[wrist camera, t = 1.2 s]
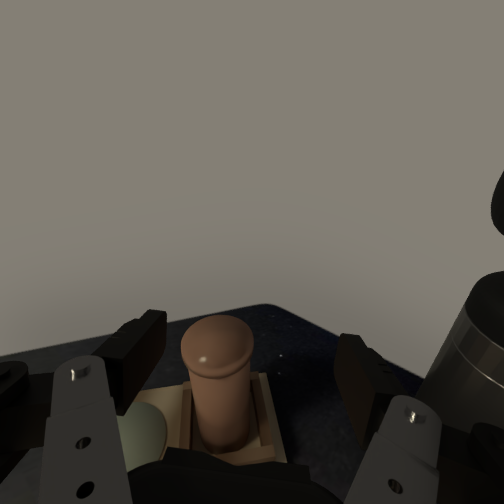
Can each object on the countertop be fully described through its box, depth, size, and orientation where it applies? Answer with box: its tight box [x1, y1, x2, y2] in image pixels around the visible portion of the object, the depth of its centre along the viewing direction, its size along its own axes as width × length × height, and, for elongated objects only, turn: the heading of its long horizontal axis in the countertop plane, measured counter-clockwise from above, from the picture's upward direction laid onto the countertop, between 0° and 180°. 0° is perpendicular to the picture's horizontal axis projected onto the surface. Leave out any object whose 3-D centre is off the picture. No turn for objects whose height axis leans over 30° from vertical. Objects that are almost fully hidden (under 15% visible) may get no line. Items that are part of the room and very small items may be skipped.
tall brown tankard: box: [181, 315, 254, 455], centre depth 26 cm, size 6×8×14 cm
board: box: [116, 371, 287, 472], centre depth 28 cm, size 22×12×4 cm, turn 99°
